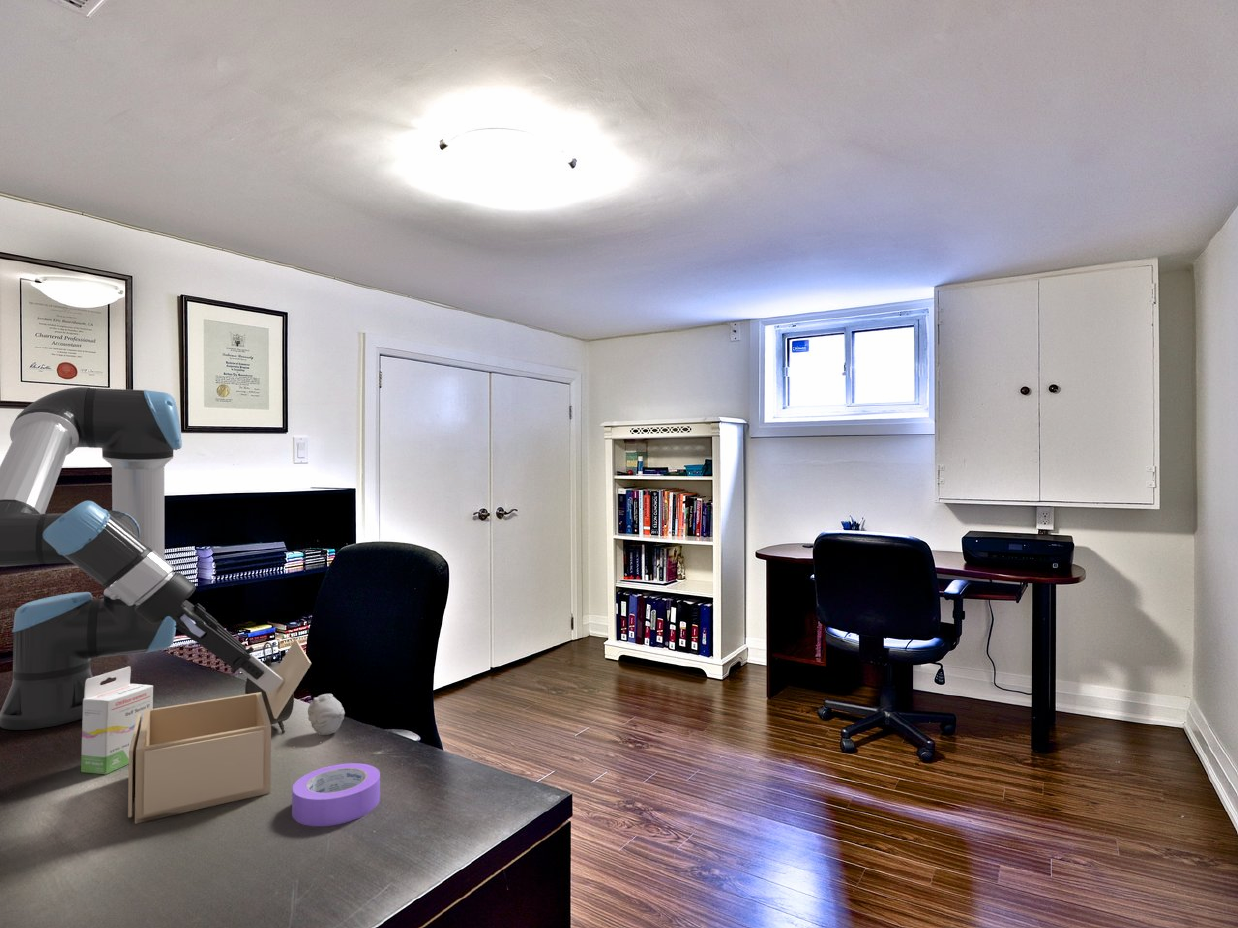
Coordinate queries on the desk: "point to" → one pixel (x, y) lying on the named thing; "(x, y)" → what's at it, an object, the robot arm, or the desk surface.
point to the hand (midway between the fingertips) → (276, 686)
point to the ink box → (111, 720)
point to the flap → (288, 677)
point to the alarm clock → (254, 688)
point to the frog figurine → (325, 714)
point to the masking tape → (335, 794)
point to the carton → (199, 756)
